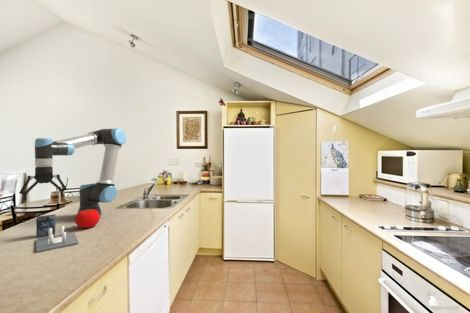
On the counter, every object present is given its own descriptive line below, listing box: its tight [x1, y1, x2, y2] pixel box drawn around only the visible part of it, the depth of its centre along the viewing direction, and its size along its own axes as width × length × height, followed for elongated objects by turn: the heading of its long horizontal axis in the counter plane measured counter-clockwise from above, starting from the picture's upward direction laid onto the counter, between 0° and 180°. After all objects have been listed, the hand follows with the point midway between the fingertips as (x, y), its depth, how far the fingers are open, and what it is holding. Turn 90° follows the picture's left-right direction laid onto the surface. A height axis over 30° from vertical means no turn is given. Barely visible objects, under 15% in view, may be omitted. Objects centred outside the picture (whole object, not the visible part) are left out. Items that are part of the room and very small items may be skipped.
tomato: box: [74, 209, 101, 229], centre depth 144 cm, size 12×13×11 cm
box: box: [35, 214, 56, 239], centre depth 130 cm, size 8×6×11 cm
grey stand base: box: [35, 225, 79, 254], centre depth 119 cm, size 16×20×6 cm
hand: (44, 204), depth 130 cm, fingers open, 13 cm apart
